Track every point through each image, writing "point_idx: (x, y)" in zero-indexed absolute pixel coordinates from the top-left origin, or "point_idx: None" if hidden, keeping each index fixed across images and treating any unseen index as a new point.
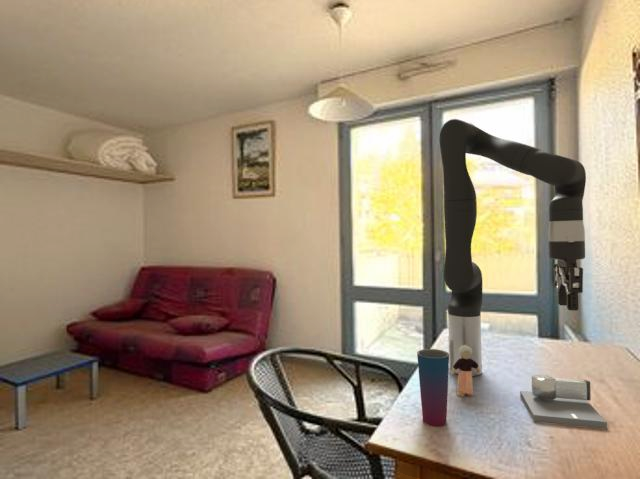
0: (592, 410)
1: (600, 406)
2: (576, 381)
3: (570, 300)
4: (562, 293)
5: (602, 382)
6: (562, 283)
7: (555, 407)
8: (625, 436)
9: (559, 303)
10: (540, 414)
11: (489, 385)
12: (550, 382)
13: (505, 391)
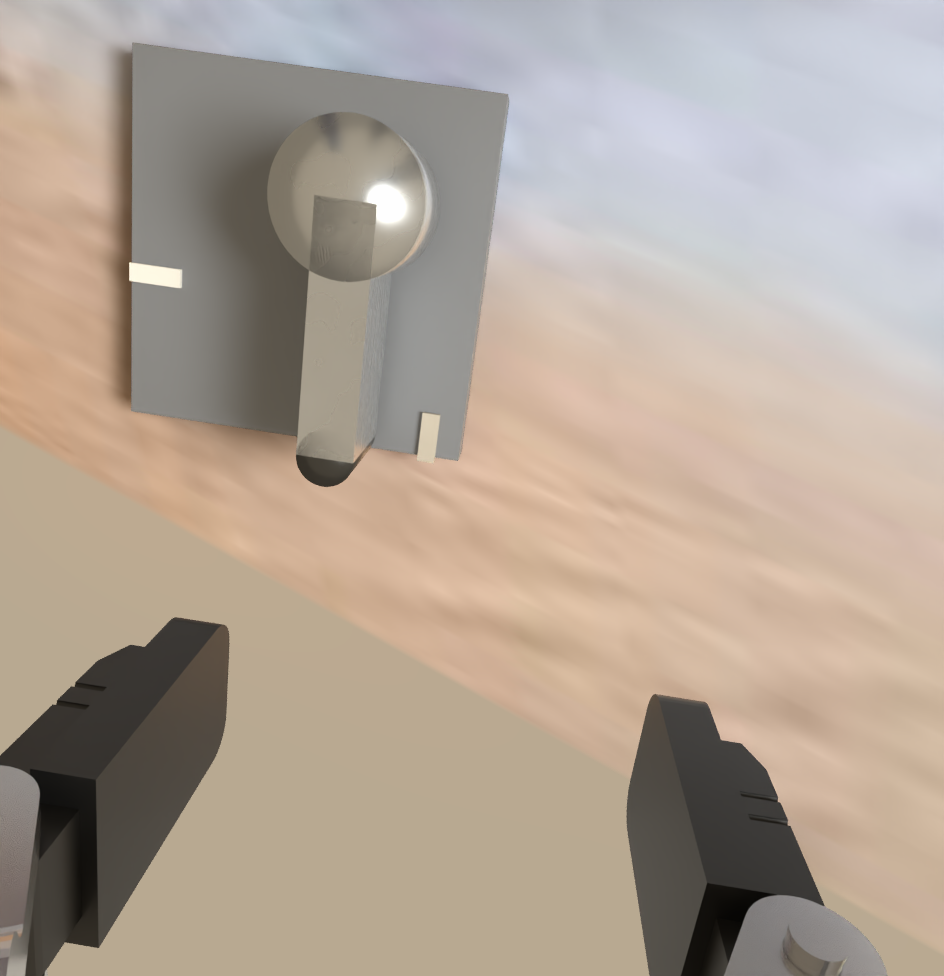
0: (259, 412)
1: (415, 513)
2: (315, 404)
3: (40, 719)
4: (676, 898)
5: (768, 704)
6: (10, 966)
7: (264, 224)
8: (95, 445)
9: (655, 707)
10: (147, 89)
11: None
12: (272, 217)
13: (601, 23)
